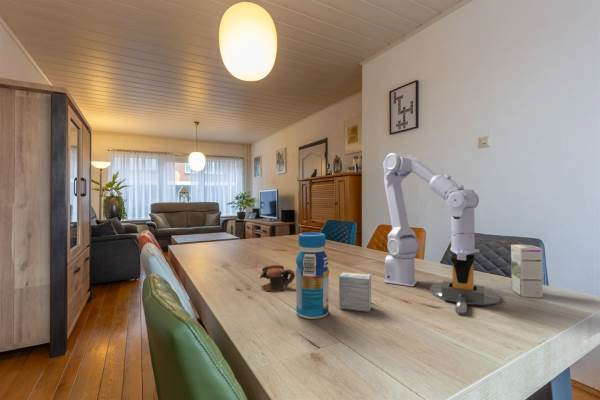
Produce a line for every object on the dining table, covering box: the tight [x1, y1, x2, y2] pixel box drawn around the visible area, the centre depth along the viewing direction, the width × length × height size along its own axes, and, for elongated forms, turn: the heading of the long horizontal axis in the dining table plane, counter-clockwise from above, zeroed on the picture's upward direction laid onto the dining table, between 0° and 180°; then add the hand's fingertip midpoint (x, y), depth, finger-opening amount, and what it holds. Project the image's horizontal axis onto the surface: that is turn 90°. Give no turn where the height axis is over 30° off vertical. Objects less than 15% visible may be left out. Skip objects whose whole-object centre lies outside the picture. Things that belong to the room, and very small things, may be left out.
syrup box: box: [510, 244, 544, 299], centre depth 86 cm, size 6×6×14 cm
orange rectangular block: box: [452, 263, 475, 290], centre depth 80 cm, size 5×3×8 cm, turn 59°
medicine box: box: [338, 272, 372, 313], centre depth 76 cm, size 8×4×9 cm, turn 71°
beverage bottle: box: [294, 232, 330, 320], centre depth 72 cm, size 8×8×20 cm
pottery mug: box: [259, 264, 296, 292], centre depth 94 cm, size 12×10×8 cm
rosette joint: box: [429, 280, 501, 316], centre depth 82 cm, size 18×26×6 cm
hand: (462, 281), depth 80 cm, fingers closed on orange rectangular block, 3 cm apart
